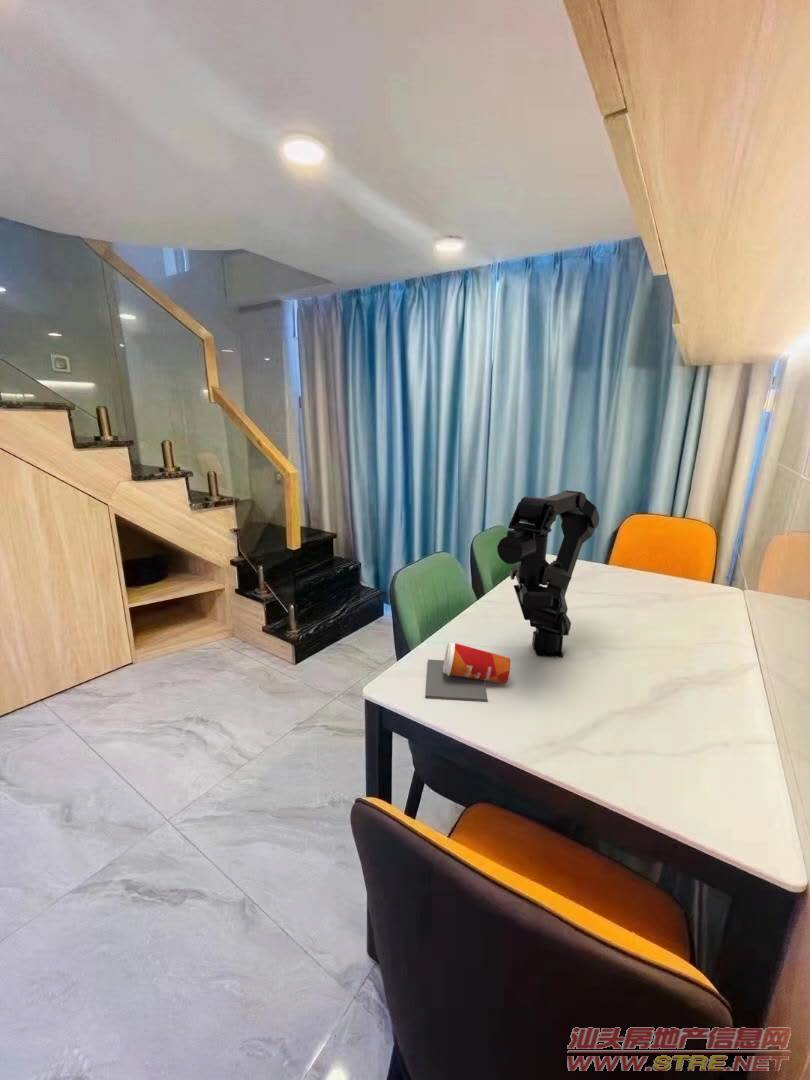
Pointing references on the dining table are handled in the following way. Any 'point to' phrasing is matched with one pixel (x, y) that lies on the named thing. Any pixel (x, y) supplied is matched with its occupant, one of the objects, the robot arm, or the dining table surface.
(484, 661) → the paper cup
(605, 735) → the dining table surface
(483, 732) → the dining table surface
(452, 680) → the mat
